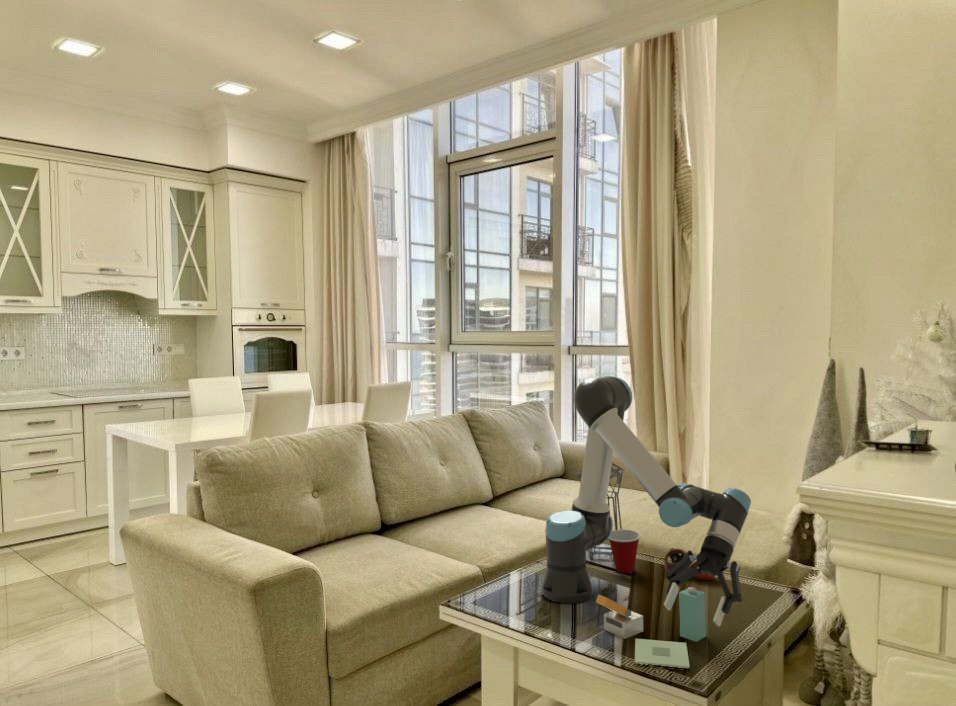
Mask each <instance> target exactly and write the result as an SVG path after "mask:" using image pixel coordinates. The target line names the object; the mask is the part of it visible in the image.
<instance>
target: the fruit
mask: <svg viewBox="0 0 956 706" xmlns="http://www.w3.org/2000/svg"><path fill="white" fill-rule="evenodd" d="M696 561H697V560H695V562H696ZM695 562H692V564H693V563H695ZM692 564H691V565H692ZM691 565H690V566H691ZM690 566H689V567H690ZM697 569H699V566H698V567H697ZM693 577H694V578H695V580H698V581H712V580H713V579H714V578H715V577H714V576H711V575H706V574H703V573H701V574H697V575H695V576H693Z"/></svg>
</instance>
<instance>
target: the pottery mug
mask: <svg viewBox="0 0 956 706" xmlns="http://www.w3.org/2000/svg"><path fill="white" fill-rule="evenodd" d="M686 553H687V552H686V551H685V550H684V549H681V548H674V547H672V548H670V549H669V550H668V551H667V552H666V553H665V555H664V559H663V560H664V565H663V566H664V570H665V573H666V574H667V573H668V572H669V571H670V570H671V569H672V568H673V567H674V566H675V565H676V564H678V563H679V562H680V561H681V560H682V559H683V558H684V557H685V555H686ZM668 558H669V559H670V560H671V562H670V561H668ZM688 568H689V567H688Z"/></svg>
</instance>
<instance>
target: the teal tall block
mask: <svg viewBox="0 0 956 706" xmlns="http://www.w3.org/2000/svg"><path fill="white" fill-rule="evenodd" d="M678 604H679V605H678V607H679V637H682V638H684V639H688V640H689V641H692V642H697V643H698V642H699V641H701V640H702V639H704V638H706V636H707V630H706V628H707V624H706V622H707V620H706V592H705V591H700V590H698V589H697V587H694V586H689V587H687V588H686V589H683V590H681V591H678Z"/></svg>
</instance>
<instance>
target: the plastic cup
mask: <svg viewBox="0 0 956 706" xmlns="http://www.w3.org/2000/svg"><path fill="white" fill-rule="evenodd" d="M640 539H641V533H640V532H639V531H636V530H632V529H627V528H626V529H623V528H622V530H620V529H618V530H615V529H613V530H612V532H611V535H610V536H609V540H608V541H609V543H610V547H611V549H612V550H611V551H612V554H613V555H612V559H614V560H613V561H614V567H615V571H616V570H617V571H616V572H618V573H623V574H629V573H630V574H631V573H633V572H634V570H635V566H636V564H635V563H636V560H637V553H638V548H639V547H638V546H639V542H640Z"/></svg>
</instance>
